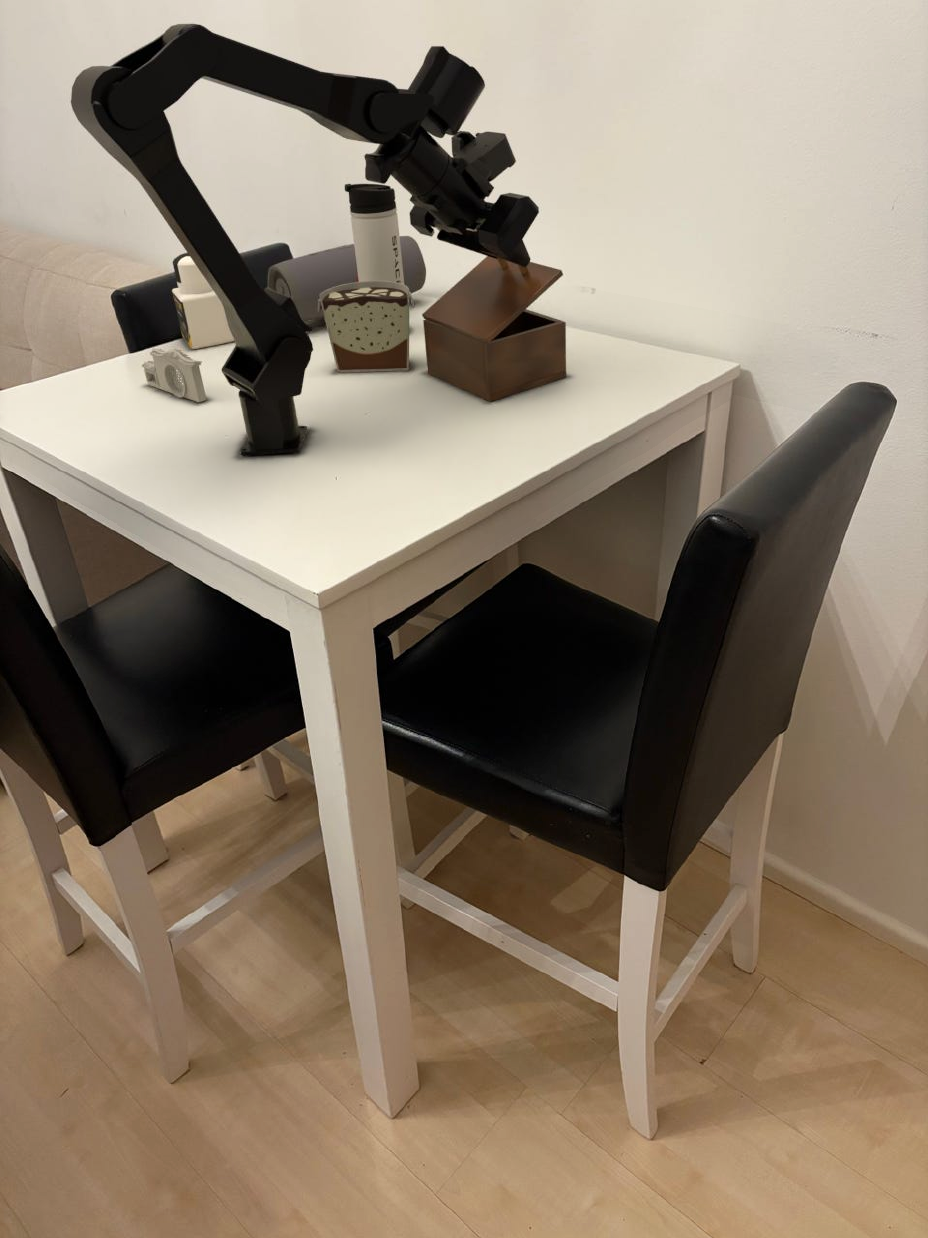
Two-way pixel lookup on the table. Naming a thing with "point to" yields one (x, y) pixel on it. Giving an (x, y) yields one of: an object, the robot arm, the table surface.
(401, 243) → the bluetooth speaker
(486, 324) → the tea box lid
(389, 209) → the travel mug
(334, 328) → the food container
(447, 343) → the tea box
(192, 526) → the table surface
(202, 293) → the medicine bottle
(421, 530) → the table surface
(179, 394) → the grey toy camera
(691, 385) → the table surface
